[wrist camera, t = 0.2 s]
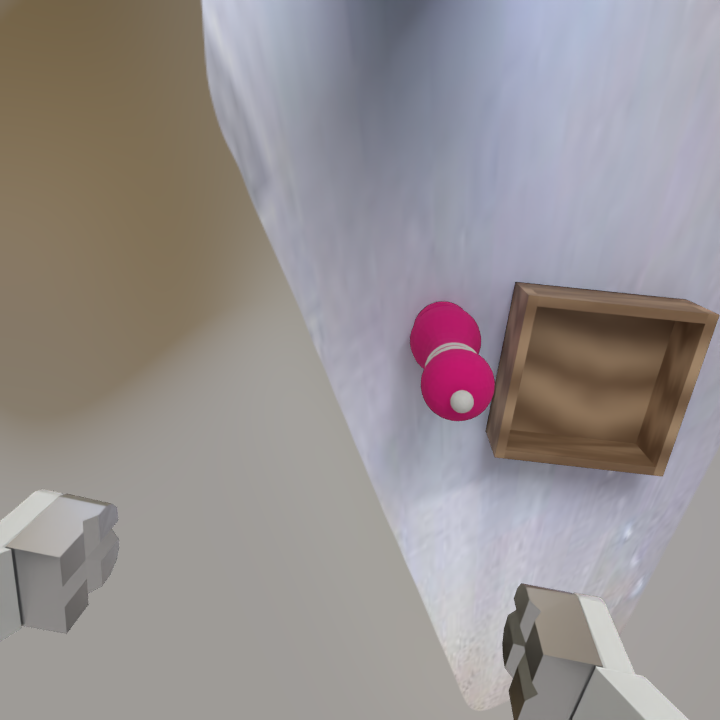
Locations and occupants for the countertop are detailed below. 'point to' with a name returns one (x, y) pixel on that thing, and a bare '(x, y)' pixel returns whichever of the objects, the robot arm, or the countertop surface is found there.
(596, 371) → the tray
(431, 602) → the countertop surface
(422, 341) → the pepper mill
